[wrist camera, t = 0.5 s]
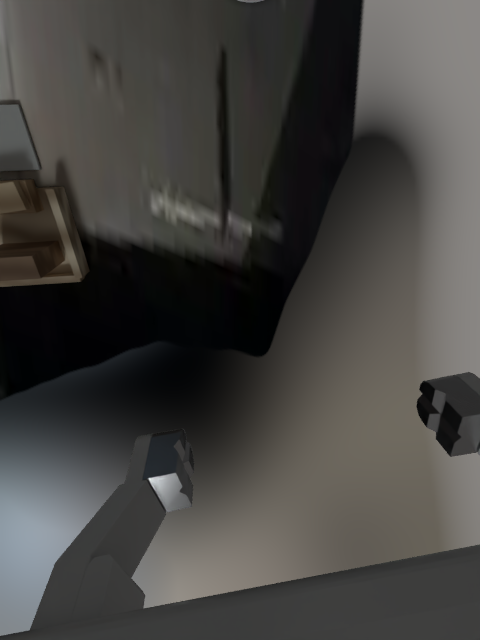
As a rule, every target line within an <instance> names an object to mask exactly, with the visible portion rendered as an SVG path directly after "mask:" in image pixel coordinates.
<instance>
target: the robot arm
mask: <svg viewBox="0 0 480 640" xmlns="http://www.w3.org/2000/svg"><path fill="white" fill-rule="evenodd" d="M238 1H242V2H259V1H263V0H238ZM419 390H420V391H421V392H422V395H421V396H420V397H419V399H418V401H417V410H418V414H419V416H420V418H421V420H422V421H423V423H424V424H425V426H426V427H427V428H429V429H431V430H433V431H435V432H436V440H437V441H438V442H439V443H440V444H441V446H442V447H443V448H444V449H445V451H446V452H447V453H448V454H449V456H451V457H452V456H458V455H464V454H470V453H476V452H478V454H479V455H480V378H478V377H477V376H476V375H475V374H473V373H470V372H468V373H462V374H457V375H453V376H447V377H441V378H437V379H432V380H427V381H423V382H422V383H421V385H420V389H419ZM193 473H194V459H193V452H192V448H191V445H190V444H189V443H187V442H186V433H185V431H184V430H183V429H178V430H173V431H166V432H160V433H154V434H150V435H144V436H139V437H138V438H137V440H136V441H135V445H134V449H133V453H132V457H131V460H130V464H129V469H128V472H127V476H126V480H125V484H122V485H119V487H118V488H117V489H116V490H115V491H114V493H113V494H112V495H111V496H110V497H109V499H108V500H107V501H106V502H105V503H104V505H103V506H102V507H101V508H100V510H99V511H98V512H97V513H96V514H95V516H94V517H93V518H92V519H91V521H90V522H89V523H88V524H87V525H86V526H85V528H84V529H83V530H82V531H81V533H80V534H79V535H78V536H77V537H76V538H75V540H74V541H73V542H72V543H71V545H70V546H69V547H68V548H67V549H66V551H65V552H64V553H63V554H62V555H61V557H60V558H59V559H58V560H57V562H56V563H55V565H54V568H53V570H52V573H51V576H50V578H49V581H48V584H47V586H46V589H45V591H44V594H43V597H42V599H41V602H40V605H39V607H38V610H37V612H36V615H35V618H34V620H33V623H32V626H31V628H30V630H29V631H24V632H19V633H13V634H8V635H3V636H0V640H480V545H475V546H470V547H465V548H460V549H454V550H449V551H444V552H438V553H434V554H428V555H423V556H417V557H412V558H407V559H402V560H397V561H392V562H386V563H381V564H375V565H370V566H365V567H360V568H355V569H349V570H344V571H339V572H333V573H328V574H323V575H318V576H312V577H307V578H303V579H297V580H291V581H286V582H281V583H276V584H271V585H265V586H260V587H255V588H249V589H244V590H239V591H234V592H228V593H223V594H218V595H213V596H208V597H203V598H197V599H192V600H187V601H181V602H176V603H171V604H165V605H160V606H155V607H150V608H144V609H143V606H144V599H145V594H144V593H143V591H142V590H141V589H140V588H139V586H138V585H137V584H136V583H135V582H134V581H133V580H132V579H131V577H132V576H133V574H134V572H135V570H136V568H137V566H138V565H139V563H140V561H141V559H142V557H143V556H144V554H145V552H146V550H147V548H148V546H149V545H150V543H151V541H152V539H153V537H154V535H155V534H156V532H157V530H158V528H159V526H160V525H161V523H162V521H163V519H164V517H165V515H166V513H165V512H170V511H174V510H179V509H183V508H187V507H192V496H193V484H192V482H191V480H190V477H191V476H192V474H193Z"/></svg>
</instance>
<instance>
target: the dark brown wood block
mask: <svg viewBox="0 0 480 640" xmlns="http://www.w3.org/2000/svg"><path fill="white" fill-rule="evenodd" d="M64 261H65V259H64V256H63V254H62V251H61V248H60V245H59V242H58V241H44V242H26V243H8V244H1V245H0V281H12V280H28V279H41V278H42V277H44V276H45V275H46V274H48V273H49V272H50V271H52V270H53V269H54V268H56V267H57V266H58V265H60V264H61V263H62V262H64Z"/></svg>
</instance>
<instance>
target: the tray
mask: <svg viewBox="0 0 480 640" xmlns="http://www.w3.org/2000/svg"><path fill="white" fill-rule="evenodd" d="M37 191H38V194H39V197H40V199H41V202H42V205H43V208H44V210H43V211H40V212H37V213H20V214H0V245H1V244H8V243H26V242H44V241H58V242H59V245H60V248H61V251H62V254H63V256H64V259H65V261H64V262H62V263H61V264H60V265H58V266H57V267H56V268H54V269H53V270H52V271H50V272H49V273H48V274H46V275H45V276H44V277H42V278H41V279H28V280H12V281H0V286H1V287H5V286H20V285H36V284H51V283H67V282H81V281H82V280H83V279H84V278H85V275H86V274H87V273H88V272H89V271H90V270H89V267H88V264H87V261H86V257H85V254H84V251H83V248H82V244H81V241H80V238H79V235H78V231H77V228H76V225H75V222H74V218H73V215H72V212H71V209H70V205H69V202H68V199H67V195H66V192H65V189H64V187H44V188H37Z"/></svg>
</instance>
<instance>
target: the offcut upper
mask: <svg viewBox="0 0 480 640" xmlns="http://www.w3.org/2000/svg"><path fill="white" fill-rule="evenodd" d="M30 208H31V206H30V203H29V201H28V199H27V197H26V195H25V193H24V191H23V189H22V187H21V185H20V182H19V181H14V182H8V183H2V184H0V214H2V213H9V212H15V211H21V210H27V209H30Z"/></svg>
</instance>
